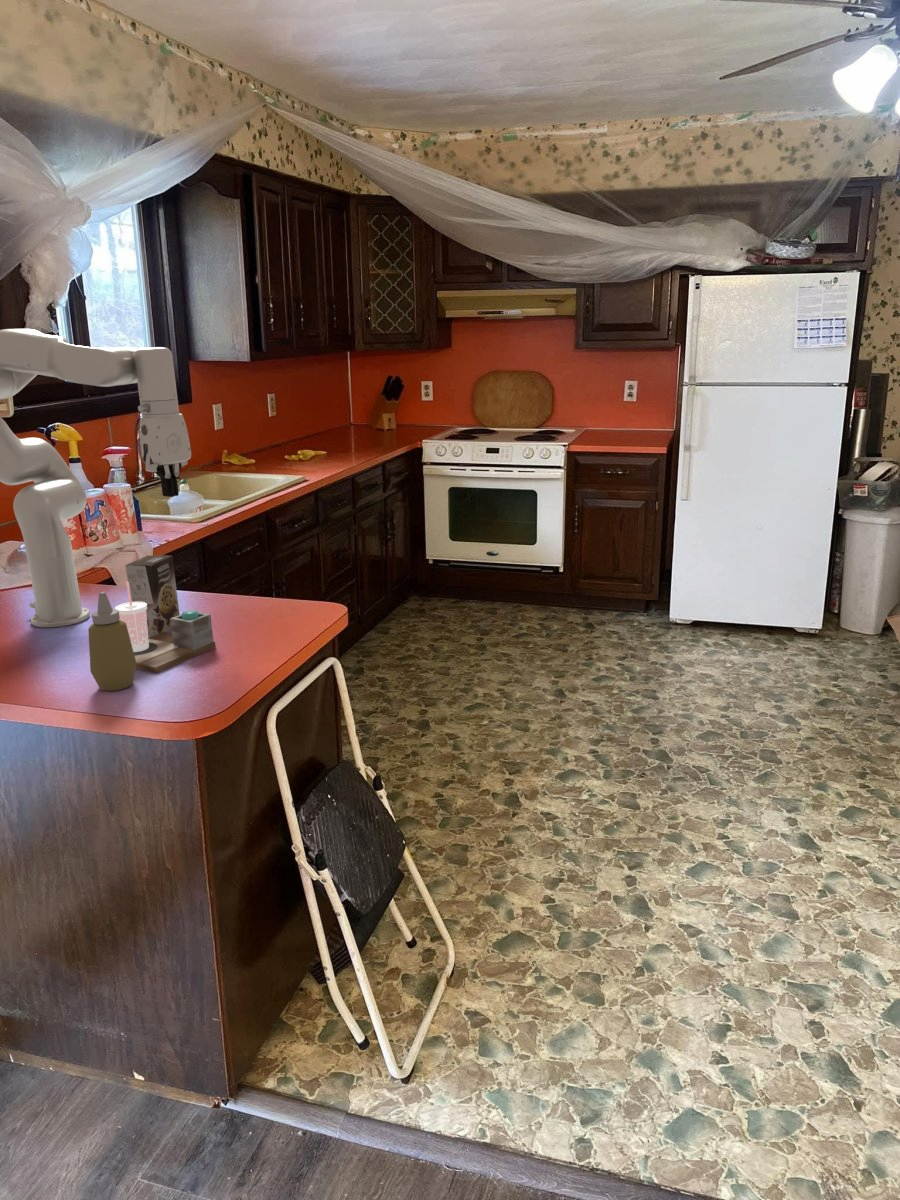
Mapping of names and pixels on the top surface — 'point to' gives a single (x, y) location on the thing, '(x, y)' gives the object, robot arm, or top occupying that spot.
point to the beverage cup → (135, 622)
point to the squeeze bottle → (110, 648)
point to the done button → (190, 615)
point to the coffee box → (154, 590)
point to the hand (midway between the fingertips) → (170, 495)
